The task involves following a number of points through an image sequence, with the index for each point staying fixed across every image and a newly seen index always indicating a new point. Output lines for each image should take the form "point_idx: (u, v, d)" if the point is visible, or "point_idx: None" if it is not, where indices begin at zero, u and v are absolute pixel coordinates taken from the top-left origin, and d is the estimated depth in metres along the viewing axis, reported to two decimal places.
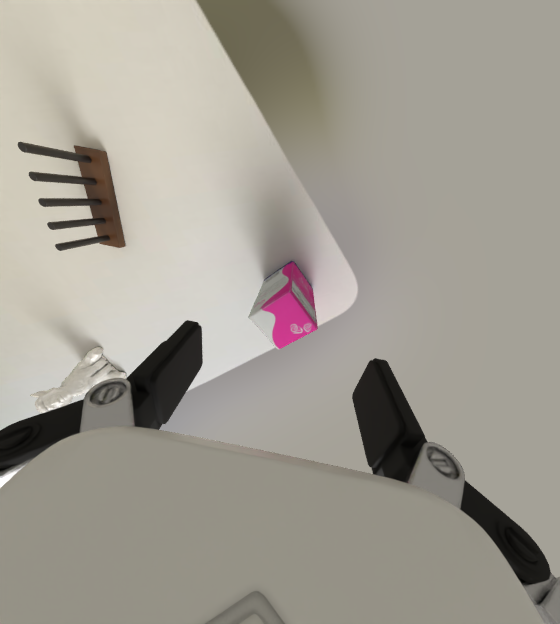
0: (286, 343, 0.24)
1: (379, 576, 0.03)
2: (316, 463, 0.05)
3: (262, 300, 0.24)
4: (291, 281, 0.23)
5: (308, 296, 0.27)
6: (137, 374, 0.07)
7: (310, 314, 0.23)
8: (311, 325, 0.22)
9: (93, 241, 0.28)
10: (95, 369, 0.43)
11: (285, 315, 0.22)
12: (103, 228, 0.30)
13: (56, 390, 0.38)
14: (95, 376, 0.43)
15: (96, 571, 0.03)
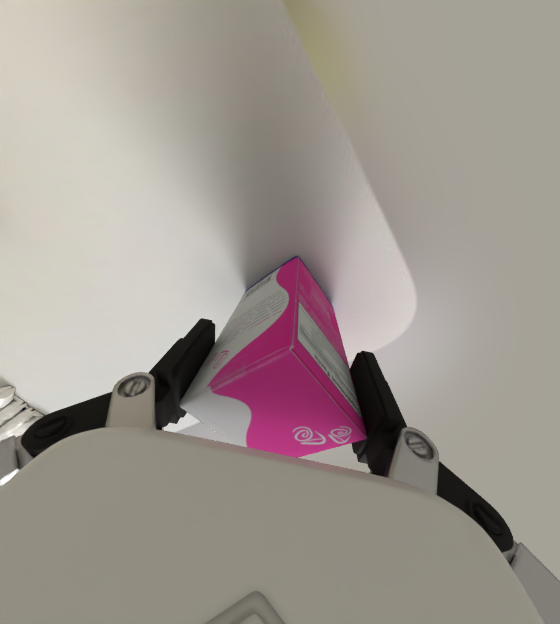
0: None
1: (379, 576, 0.03)
2: (316, 463, 0.05)
3: (223, 351, 0.10)
4: (296, 305, 0.09)
5: (332, 331, 0.12)
6: (160, 369, 0.08)
7: (346, 395, 0.09)
8: (351, 431, 0.08)
9: None
10: (1, 419, 0.29)
11: (279, 407, 0.08)
12: None
13: None
14: (0, 430, 0.29)
15: (96, 571, 0.03)
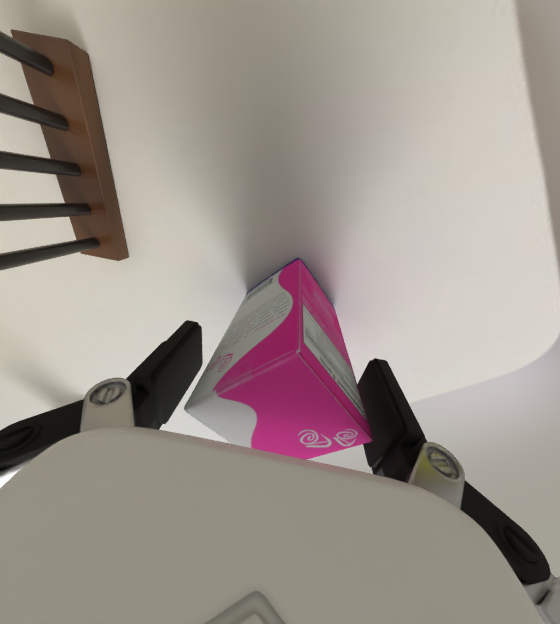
0: None
1: (379, 576, 0.03)
2: (316, 463, 0.05)
3: (227, 354, 0.10)
4: (300, 308, 0.09)
5: (335, 333, 0.12)
6: (137, 374, 0.07)
7: (352, 397, 0.09)
8: (357, 434, 0.08)
9: (62, 250, 0.14)
10: None
11: (285, 410, 0.08)
12: (86, 224, 0.15)
13: None
14: None
15: (96, 571, 0.03)
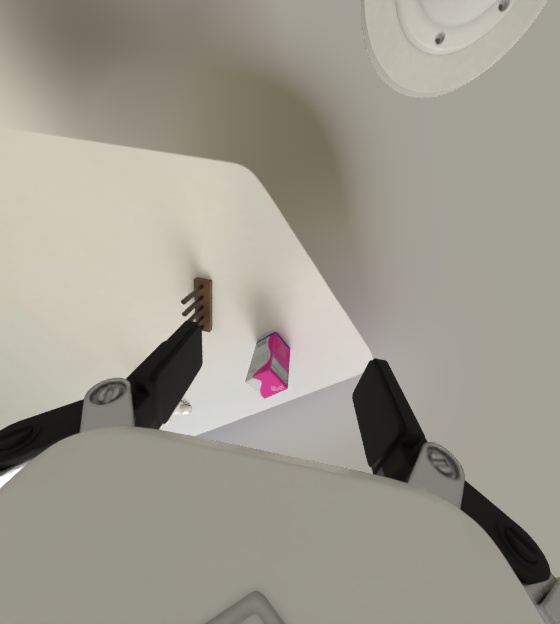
0: (269, 395, 0.38)
1: (379, 576, 0.03)
2: (316, 463, 0.05)
3: (254, 368, 0.38)
4: (271, 358, 0.38)
5: (284, 361, 0.41)
6: (137, 374, 0.07)
7: (283, 379, 0.37)
8: (283, 386, 0.37)
9: None
10: None
11: (267, 381, 0.36)
12: (201, 321, 0.44)
13: None
14: None
15: (96, 571, 0.03)
